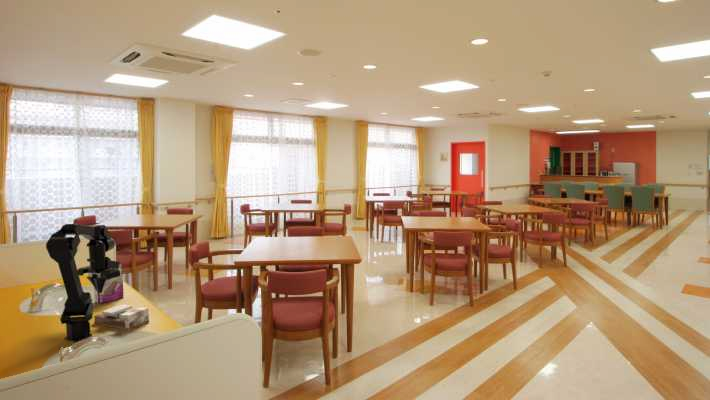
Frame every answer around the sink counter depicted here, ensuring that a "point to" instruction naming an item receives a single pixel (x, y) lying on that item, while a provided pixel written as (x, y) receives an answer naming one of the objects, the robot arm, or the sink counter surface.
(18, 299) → the sink counter surface
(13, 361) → the sink counter surface
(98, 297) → the candy bar box
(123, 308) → the sliding cap
